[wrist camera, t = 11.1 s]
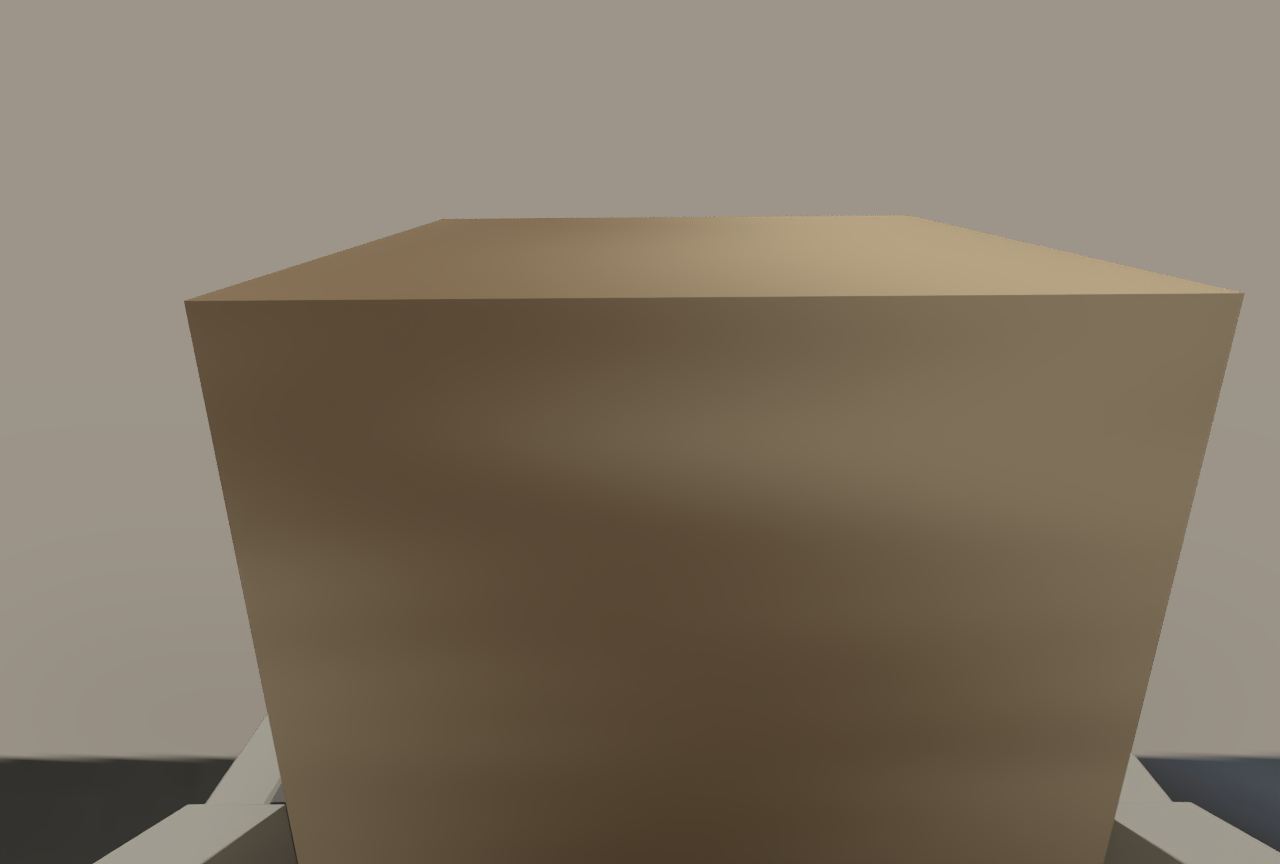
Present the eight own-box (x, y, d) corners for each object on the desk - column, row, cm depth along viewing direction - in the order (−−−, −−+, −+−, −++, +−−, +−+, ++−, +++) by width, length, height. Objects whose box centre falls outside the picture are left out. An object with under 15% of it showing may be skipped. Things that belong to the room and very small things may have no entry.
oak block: (827, 1011, 11) (908, 214, 8) (937, 1534, 7) (1244, 294, 3) (513, 1010, 11) (442, 219, 8) (433, 1530, 7) (184, 301, 3)
